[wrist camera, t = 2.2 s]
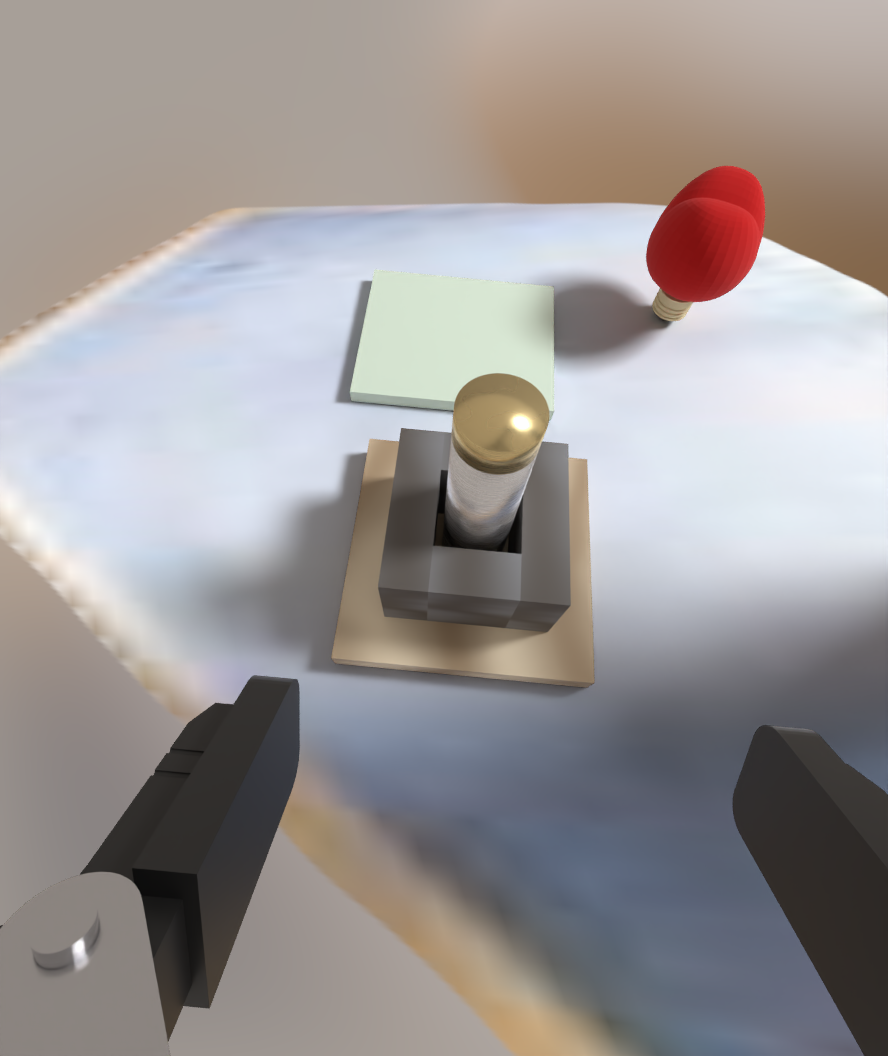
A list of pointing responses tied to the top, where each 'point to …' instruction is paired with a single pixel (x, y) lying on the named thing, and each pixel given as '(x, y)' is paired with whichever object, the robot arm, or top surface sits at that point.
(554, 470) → the stand
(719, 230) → the red rounded lobed piece
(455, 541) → the key peg
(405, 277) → the sage mat
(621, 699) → the top surface
